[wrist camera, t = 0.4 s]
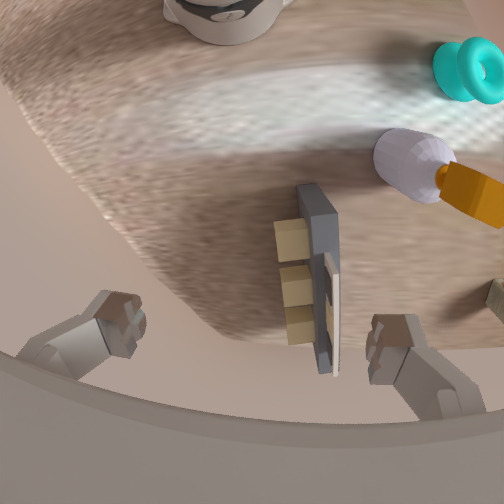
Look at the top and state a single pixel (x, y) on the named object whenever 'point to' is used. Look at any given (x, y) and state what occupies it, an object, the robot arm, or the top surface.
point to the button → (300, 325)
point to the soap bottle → (437, 175)
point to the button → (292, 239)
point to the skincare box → (496, 298)
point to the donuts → (470, 70)
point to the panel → (323, 274)
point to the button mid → (296, 286)
